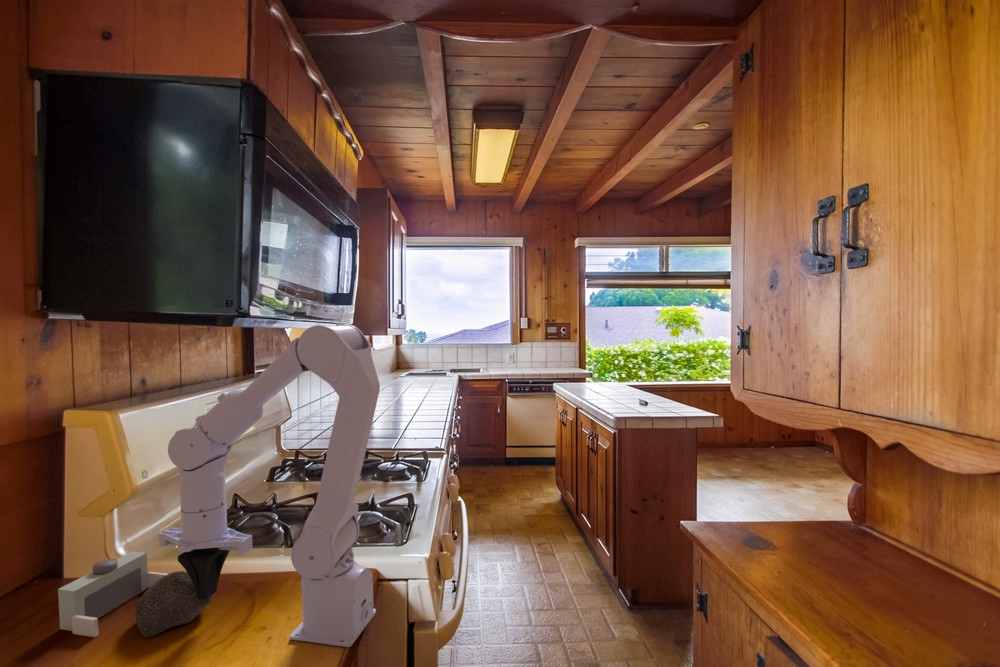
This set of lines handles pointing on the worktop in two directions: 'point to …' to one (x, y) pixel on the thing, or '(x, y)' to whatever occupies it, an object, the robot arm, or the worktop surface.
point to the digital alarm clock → (103, 591)
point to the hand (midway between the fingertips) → (207, 594)
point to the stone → (168, 604)
